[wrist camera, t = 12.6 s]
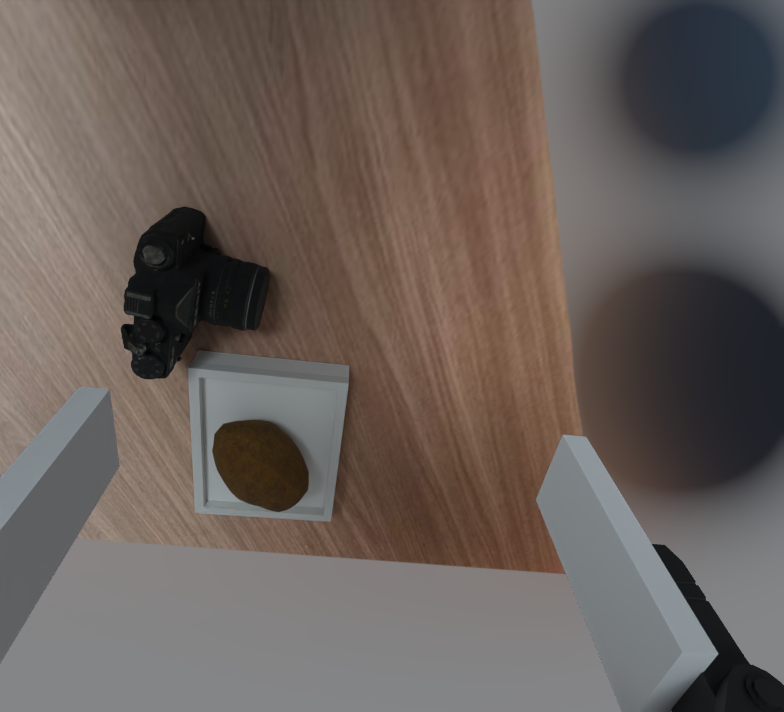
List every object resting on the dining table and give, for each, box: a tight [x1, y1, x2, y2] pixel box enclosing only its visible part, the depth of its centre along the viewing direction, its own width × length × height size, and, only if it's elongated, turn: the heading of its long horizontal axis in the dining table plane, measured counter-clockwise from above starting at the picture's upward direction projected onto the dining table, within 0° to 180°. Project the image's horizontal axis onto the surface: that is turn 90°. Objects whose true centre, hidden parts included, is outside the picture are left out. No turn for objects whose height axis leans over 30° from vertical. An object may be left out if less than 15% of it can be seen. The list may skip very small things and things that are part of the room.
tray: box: [188, 350, 349, 522], centre depth 57 cm, size 20×16×4 cm
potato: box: [212, 420, 309, 512], centre depth 53 cm, size 8×12×8 cm, turn 42°
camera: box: [121, 207, 270, 379], centre depth 46 cm, size 14×11×10 cm
